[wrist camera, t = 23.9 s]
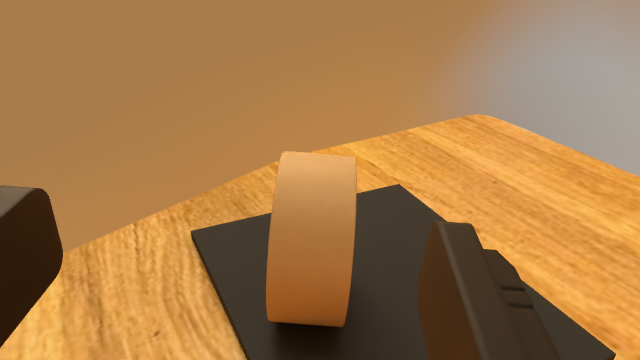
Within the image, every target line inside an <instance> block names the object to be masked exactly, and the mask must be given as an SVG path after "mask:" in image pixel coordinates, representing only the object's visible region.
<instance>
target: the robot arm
mask: <svg viewBox="0 0 640 360" xmlns="http://www.w3.org/2000/svg"><path fill="white" fill-rule="evenodd" d="M62 259H63V249H62V245H61V241H60V237H59V234H58V230H57V225H56V221H55V218H54V214H53V210H52V206H51V202H50V199H49V196H48V194H47V193H46V192H45V191H44V190H43V189H40V188H28V187H15V186H0V348H1V346H2V345H3V344H4V342H5V341H6V340H7V339H8V337H9V336H10V335H11V334H12V332H13V331H14V330H15V329H16V327H17V326H18V325H19V324H20V322H21V321H22V320H23V318H24V317H25V316H26V315H27V313H28V312H29V311H30V310H31V308H32V307H33V306H34V305H35V303H36V302H37V301H38V300H39V298H40V297H41V296H42V295H43V293H44V292H45V291H46V289H47V288H48V287H49V286H50V284H51V283H52V282H53V281H54V279H55V278H56V277H57V275H58V273H59V271H60V268H61V264H62ZM417 304H418V310H419V315H420V320H421V325H422V330H423V335H424V339H425V344H426V349H427V354H428V359H429V360H561V358H560V356H559V354H558V352H557V350H556V348H555V346H554V344H553V342H552V340H551V338H550V336H549V334H548V332H547V330H546V328H545V326H544V324H543V322H542V320H541V318H540V316H539V314H538V312H537V310H536V309H534V304H533V302H532V300H531V298H530V296H529V295H528V293H527V292H525V287H524V285H523V283H522V281H521V279H520V277H519V275H518V273H517V271H516V269H515V267H514V266H512V265H511V264H510V263H509V262H508V261H507V260H506V259H505V258H504V257H503V256H502V255H501V254H500V253H499V252H498V251H497V250H489V249H483V248H482V245H481V243H480V241H479V238H478V236H477V234H476V232H475V229H474V227H473V226H472V225H471V224H469V223H456V222H444V221H433V223H432V224H431V227H430V230H429V234H428V239H427V243H426V247H425V252H424V256H423V260H422V264H421V269H420V273H419V278H418V285H417Z"/></svg>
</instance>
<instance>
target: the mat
mask: <svg viewBox="0 0 640 360" xmlns="http://www.w3.org/2000/svg"><path fill="white" fill-rule="evenodd" d="M433 221H444V222H447V221H446V220H444V219H443V218H442V217H440V216H439V215H438V214H437V213H435V212H434V211H433V210H432V209H430V208H429V207H428V206H426V205H425V204H424V203H423V202H421V201H420V200H419V199H417V198H416V197H415V196H414V195H412V194H411V193H410V192H409V191H407V190H406V189H405V188H403V187H402V186H401V185H400V184H397V185H393V186H388V187H384V188H379V189H375V190H371V191H366V192H362V193H357V195H356V222H355V239H354V253H353V265H352V276H351V286H350V294H349V302H348V309H347V314H346V319H345V323H344V325H343V327H334V326H321V325H309V324H296V323H283V322H270V321H269V320H268V317H267V309H266V279H267V260H268V245H269V233H270V223H271V213H269V214H264V215H260V216H255V217H251V218H246V219H242V220H238V221H233V222H229V223H224V224H220V225H215V226H211V227H206V228H202V229H198V230H193V231H191V237H192V239H193V241H194V243H195V245H196V248H197V250H198V252H199V254H200V256H201V258H202V261H203V263H204V265H205V267H206V269H207V272H208V274H209V276H210V278H211V280H212V283H213V285H214V287H215V289H216V291H217V293H218V296H219V298H220V300H221V302H222V304H223V307H224V309H225V311H226V313H227V315H228V318H229V320H230V322H231V324H232V326H233V328H234V331H235V333H236V335H237V337H238V339H239V342H240V344H241V346H242V348H243V350H244V352H245V355H246V357H247V359H248V360H429V359H428V354H427V349H426V344H425V339H424V335H423V330H422V325H421V320H420V315H419V310H418V304H417V285H418V278H419V273H420V269H421V264H422V260H423V256H424V252H425V247H426V243H427V239H428V234H429V230H430V227H431V224H432V223H433ZM521 281H522V280H521ZM522 283H523V285H524V287H525V292H527V293H528V295H529V296H530V298H531V300H532V302H533V304H534V309H536V310H537V312H538V314H539V316H540V318H541V320H542V322H543V324H544V326H545V328H546V330H547V332H548V334H549V336H550V338H551V340H552V342H553V344H554V346H555V348H556V350H557V352H558V354H559V356H560V358H561V360H613V359H614V358H615V356H616V354H615V353H614V352H613V351H612V350H610V349H609V348H608V347H606V346H605V345H604V344H603V343H601V342H600V341H599V340H598V339H596V338H595V337H594V336H592V335H591V334H590V333H589V332H587V331H586V330H585V329H584V328H582V327H581V326H580V325H578V324H577V323H576V322H575V321H573V320H572V319H571V318H569V317H568V316H567V315H566V314H564V313H563V312H562V311H561V310H559V309H558V308H557V307H555V306H554V305H553V304H552V303H550V302H549V301H548V300H546V299H545V298H544V297H543V296H541V295H540V294H539V293H538V292H536V291H535V290H534V289H532V288H531V287H530V286H529V285H527V284H526V283H525V282H523V281H522Z"/></svg>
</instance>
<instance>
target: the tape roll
mask: <svg viewBox="0 0 640 360" xmlns="http://www.w3.org/2000/svg"><path fill="white" fill-rule="evenodd" d="M356 195H357V172H356V161H355V157H353V156H341V155H328V154H315V153H302V152H289V151H284V152H283V154H282V156H281V159H280V162H279V166H278V171H277V177H276V183H275V190H274V197H273V205H272V213H271V223H270V233H269V245H268V260H267V279H266V309H267V317H268V320H269V321H270V322H283V323H296V324H309V325H321V326H334V327H343V325H344V323H345V319H346V314H347V309H348V302H349V294H350V286H351V276H352V265H353V253H354V239H355V222H356Z"/></svg>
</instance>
